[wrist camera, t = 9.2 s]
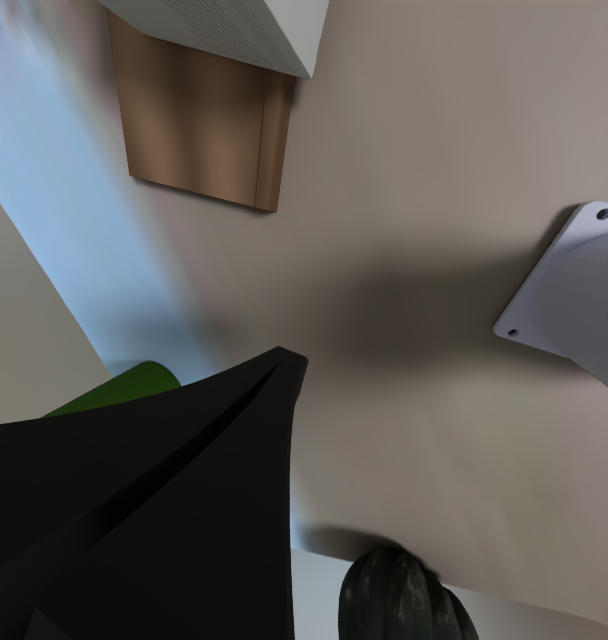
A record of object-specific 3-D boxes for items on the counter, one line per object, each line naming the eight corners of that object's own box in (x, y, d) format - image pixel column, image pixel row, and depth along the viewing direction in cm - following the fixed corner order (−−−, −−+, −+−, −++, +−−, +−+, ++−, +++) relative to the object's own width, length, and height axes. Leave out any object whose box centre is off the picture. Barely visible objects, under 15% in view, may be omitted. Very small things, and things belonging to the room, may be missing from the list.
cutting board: (357, -393, 8) (350, -513, 7) (276, 211, 17) (267, 210, 16) (90, -279, 11) (50, -346, 10) (142, 178, 20) (125, 174, 19)
